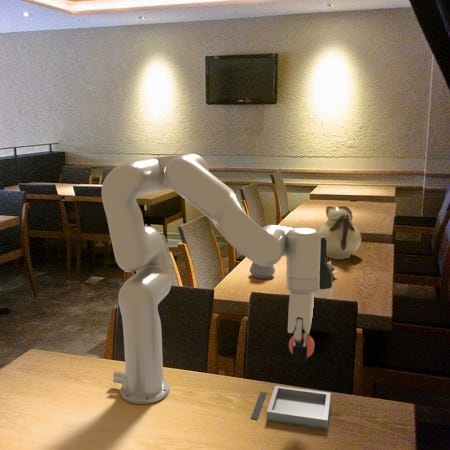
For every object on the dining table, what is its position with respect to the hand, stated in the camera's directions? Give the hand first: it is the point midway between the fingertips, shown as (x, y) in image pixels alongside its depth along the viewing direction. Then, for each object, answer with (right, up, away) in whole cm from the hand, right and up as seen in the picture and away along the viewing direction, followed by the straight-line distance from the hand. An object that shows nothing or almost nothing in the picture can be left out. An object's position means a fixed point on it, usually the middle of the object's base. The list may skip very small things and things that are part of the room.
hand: (301, 354), depth 118 cm
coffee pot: (+1, +8, +112) cm, 113 cm away
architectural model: (+29, +6, +105) cm, 109 cm away
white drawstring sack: (+41, +14, +139) cm, 146 cm away
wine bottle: (+15, -3, +59) cm, 61 cm away
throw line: (-10, -14, +6) cm, 18 cm away
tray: (0, -15, +3) cm, 15 cm away
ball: (0, +2, -1) cm, 2 cm away
